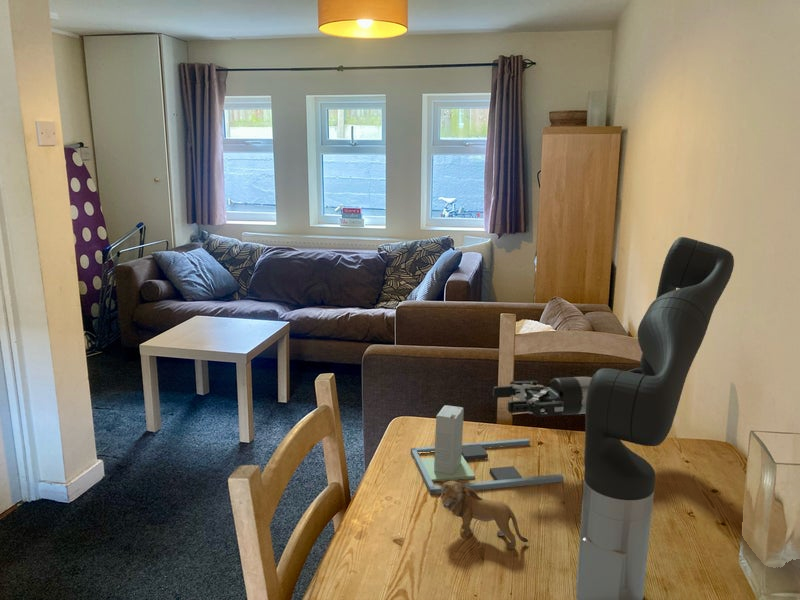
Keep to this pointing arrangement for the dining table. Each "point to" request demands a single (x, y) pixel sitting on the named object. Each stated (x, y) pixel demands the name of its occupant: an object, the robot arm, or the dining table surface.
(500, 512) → the lion figurine
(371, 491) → the dining table surface
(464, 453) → the grey slab
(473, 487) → the lane rails
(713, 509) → the dining table surface
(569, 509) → the dining table surface
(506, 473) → the grey square block
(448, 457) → the skincare box
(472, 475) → the pad
